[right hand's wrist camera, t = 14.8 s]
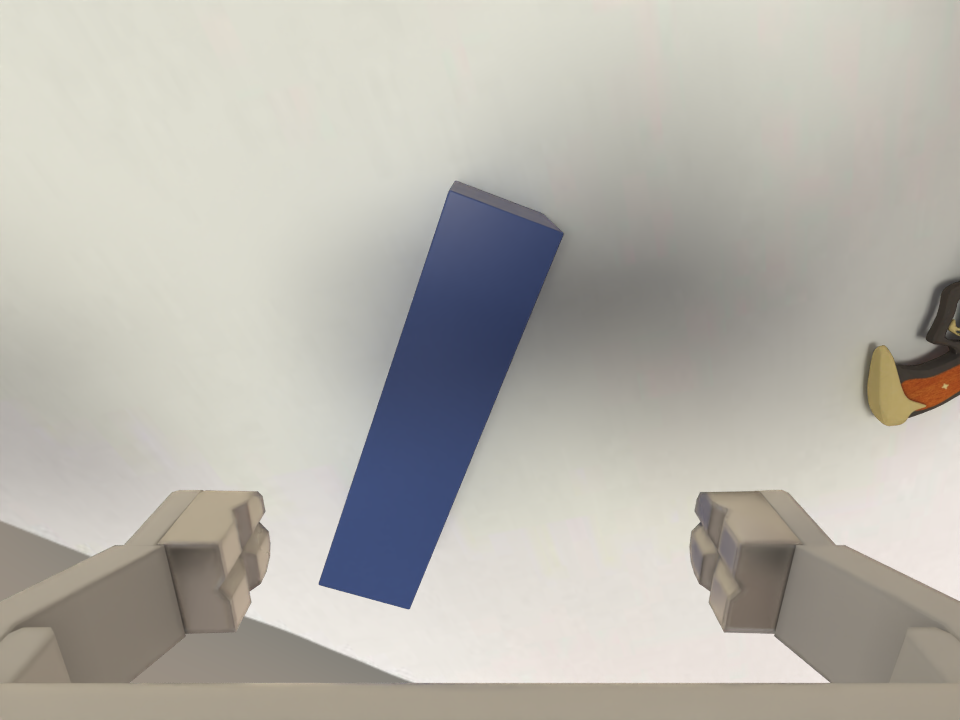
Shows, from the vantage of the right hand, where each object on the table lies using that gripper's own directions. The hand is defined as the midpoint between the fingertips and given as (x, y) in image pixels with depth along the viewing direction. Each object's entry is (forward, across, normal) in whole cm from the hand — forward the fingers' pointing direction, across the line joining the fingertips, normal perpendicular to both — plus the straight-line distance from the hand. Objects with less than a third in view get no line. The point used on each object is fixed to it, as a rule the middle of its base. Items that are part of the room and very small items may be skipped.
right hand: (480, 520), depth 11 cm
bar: (+25, -3, -7) cm, 26 cm away
